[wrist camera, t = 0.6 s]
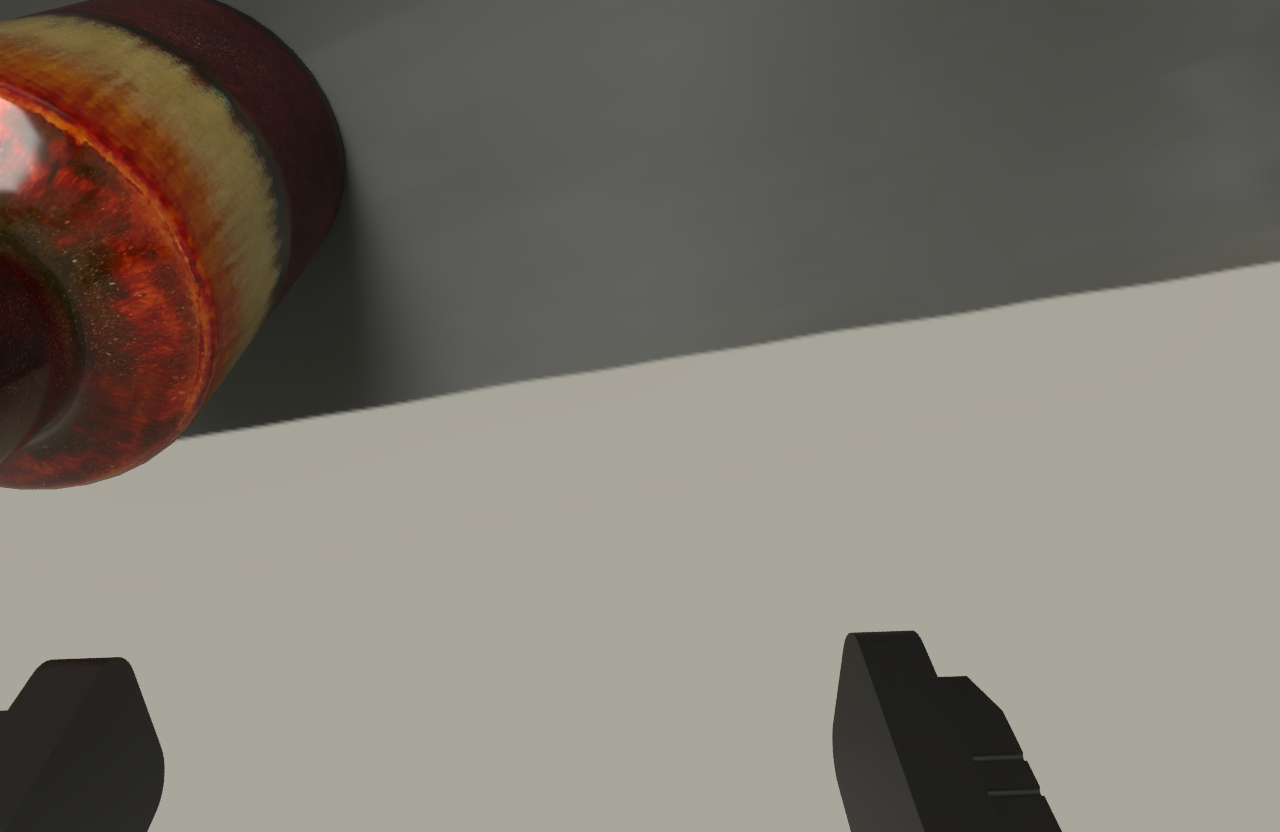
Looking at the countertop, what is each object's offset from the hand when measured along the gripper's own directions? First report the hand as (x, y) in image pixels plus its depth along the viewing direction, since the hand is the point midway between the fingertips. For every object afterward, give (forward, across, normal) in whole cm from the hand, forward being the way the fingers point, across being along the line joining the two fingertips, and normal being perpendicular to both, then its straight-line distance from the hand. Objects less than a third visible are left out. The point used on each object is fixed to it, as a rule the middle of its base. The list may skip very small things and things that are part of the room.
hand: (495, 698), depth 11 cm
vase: (+28, +13, +1) cm, 31 cm away
